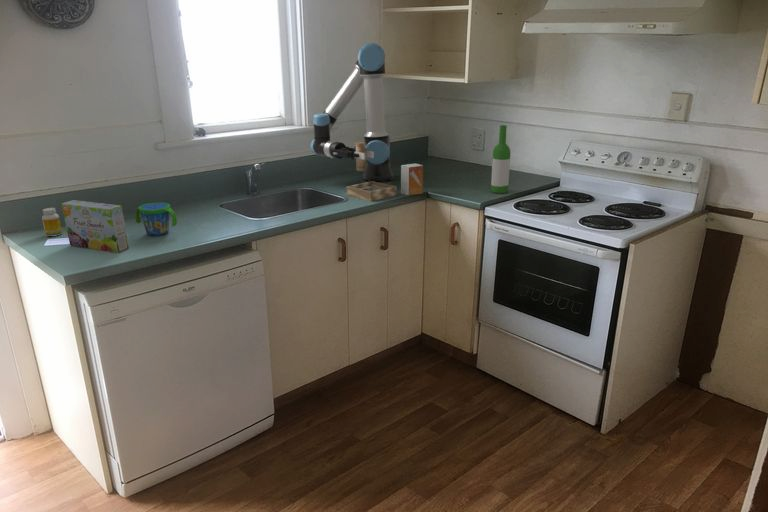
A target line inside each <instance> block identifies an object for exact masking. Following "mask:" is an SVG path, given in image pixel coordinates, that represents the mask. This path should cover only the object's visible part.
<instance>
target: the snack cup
mask: <svg viewBox="0 0 768 512" xmlns="http://www.w3.org/2000/svg"><path fill="white" fill-rule="evenodd" d="M134 216H135V222H136V223H137V224H141V223H143V227H144V229H145V232H146V234H147V235H148V236H164V235H167V234H168V232H169V230H170V217H172V219H171V220H172V222H171V224H172V225H171V226H172V227H175V226H177V224H178V220H177V219H178V218H177V216H176V213H175V212H174V210H173V208H171V204H169V203H166V202H150V203H144V204H142V205H140V206H138V207H137V208H136V210H135V215H134ZM163 234H164V235H163Z"/></svg>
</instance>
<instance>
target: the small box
mask: <svg viewBox="0 0 768 512" xmlns="http://www.w3.org/2000/svg"><path fill="white" fill-rule="evenodd" d="M423 187H424V165H423V164H419V163H407V164H402V165H400V194H402V195H405V196H414V195H422V194H423V193H424V192H423V189H424V188H423Z"/></svg>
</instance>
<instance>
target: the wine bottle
mask: <svg viewBox="0 0 768 512" xmlns="http://www.w3.org/2000/svg"><path fill="white" fill-rule="evenodd" d="M507 126H508V125H505V124H500V125H499V134H498V144H496V145H495V147H494V148H493V151H492V162H491V163H492V164H491V179H490V180H491V182H490V183H491V184H490V191H491V192H492V193H494V194H506V193H508V191H509V184H510V183H509V181H510V180H509V179H510V169H511V168H510V165H511V164H510V163H511V148H510V147H509V145H508V144H507Z"/></svg>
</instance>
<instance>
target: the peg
mask: <svg viewBox="0 0 768 512" xmlns="http://www.w3.org/2000/svg"><path fill="white" fill-rule="evenodd" d="M355 147H356V152H361V153H365V160H363V159H358V158H355V163H356V164H355V168H356V169H355V170H356V171H357V172H365V170H366V165H367V159H366V143H364V141H363V142H360V141H359V142H355Z"/></svg>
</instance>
